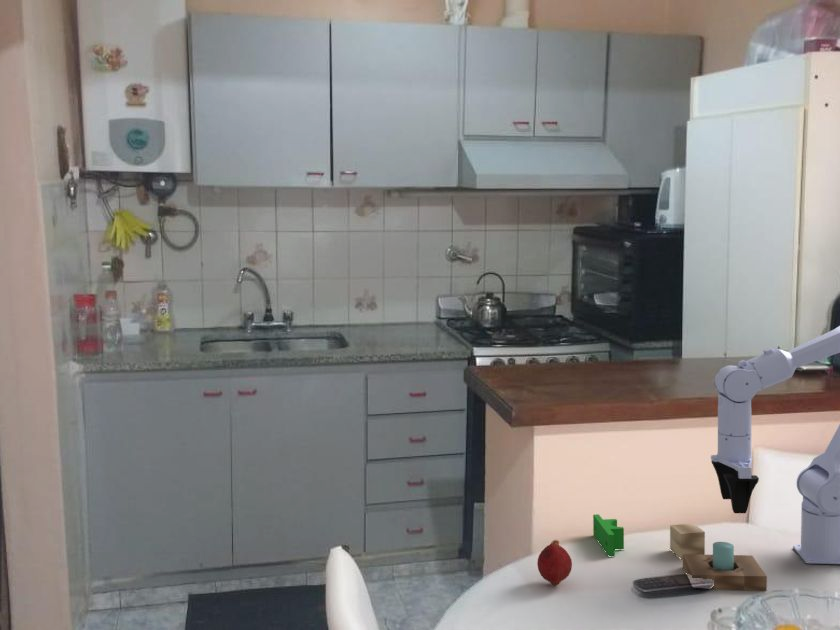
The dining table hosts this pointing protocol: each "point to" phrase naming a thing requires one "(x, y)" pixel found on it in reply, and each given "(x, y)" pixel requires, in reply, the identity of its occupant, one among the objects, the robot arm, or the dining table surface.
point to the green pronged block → (608, 534)
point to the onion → (554, 563)
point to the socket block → (727, 572)
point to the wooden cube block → (687, 539)
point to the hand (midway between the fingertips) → (733, 505)
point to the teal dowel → (723, 556)
